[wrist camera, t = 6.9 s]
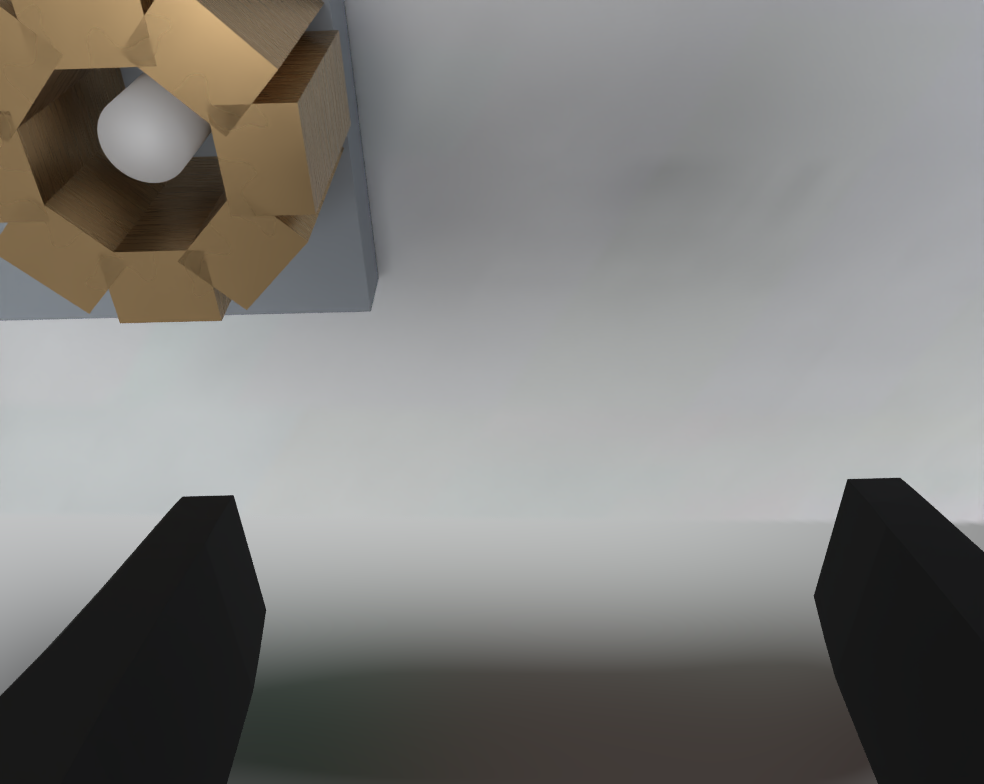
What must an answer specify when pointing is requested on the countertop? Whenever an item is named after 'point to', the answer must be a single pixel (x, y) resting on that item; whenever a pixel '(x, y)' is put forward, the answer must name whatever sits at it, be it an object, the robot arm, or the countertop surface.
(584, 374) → the countertop surface
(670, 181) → the countertop surface
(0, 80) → the brown segmented ring
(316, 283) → the carrier plate
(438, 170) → the countertop surface
